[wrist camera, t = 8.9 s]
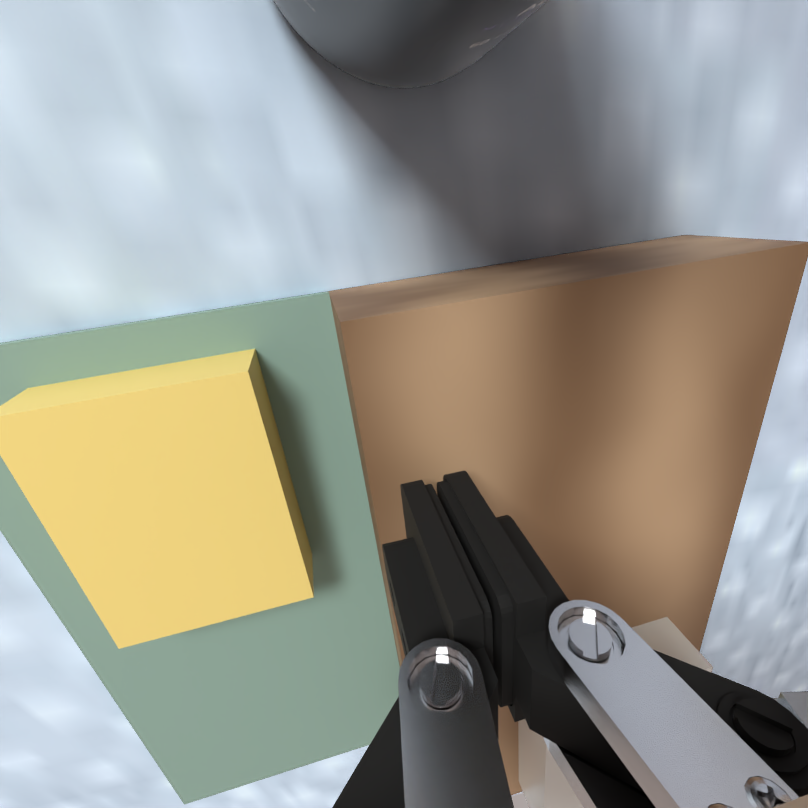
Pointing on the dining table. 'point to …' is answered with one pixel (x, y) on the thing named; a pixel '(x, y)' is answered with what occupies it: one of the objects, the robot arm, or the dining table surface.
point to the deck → (579, 409)
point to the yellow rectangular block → (164, 493)
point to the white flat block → (537, 768)
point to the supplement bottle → (405, 35)
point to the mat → (255, 633)
